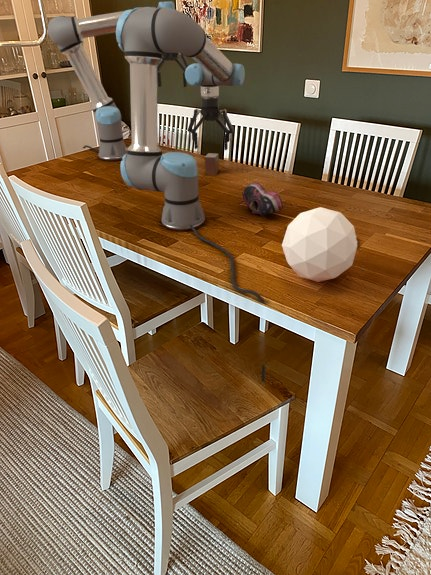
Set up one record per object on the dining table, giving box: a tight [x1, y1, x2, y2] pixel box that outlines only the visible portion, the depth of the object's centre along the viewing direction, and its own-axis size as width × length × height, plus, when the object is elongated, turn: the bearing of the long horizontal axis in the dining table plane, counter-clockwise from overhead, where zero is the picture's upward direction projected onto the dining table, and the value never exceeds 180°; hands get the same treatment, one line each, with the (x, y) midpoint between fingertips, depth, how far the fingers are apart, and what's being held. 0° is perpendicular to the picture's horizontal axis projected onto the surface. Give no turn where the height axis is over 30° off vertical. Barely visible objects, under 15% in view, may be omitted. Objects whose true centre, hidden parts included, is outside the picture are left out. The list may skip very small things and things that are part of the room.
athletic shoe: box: [238, 182, 284, 217], centre depth 160 cm, size 11×22×12 cm
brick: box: [204, 152, 220, 176], centre depth 199 cm, size 6×5×8 cm
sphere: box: [281, 206, 358, 283], centre depth 118 cm, size 19×20×20 cm
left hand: (172, 86), depth 227 cm, fingers open, 13 cm apart
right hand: (211, 148), depth 195 cm, fingers open, 13 cm apart
